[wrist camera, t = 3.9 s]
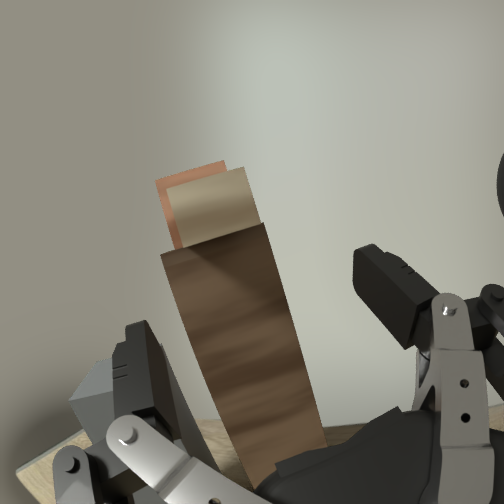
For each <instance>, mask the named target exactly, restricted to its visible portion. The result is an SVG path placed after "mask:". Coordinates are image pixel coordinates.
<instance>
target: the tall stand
mask: <svg viewBox="0 0 504 504" xmlns="http://www.w3.org/2000/svg"><path fill="white" fill-rule="evenodd" d="M160 256H161V259H162V262H163V265H164V269H165V272H166V275H167V278H168V281H169V284H170V287H171V290H172V293H173V296H174V298H175V301H176V304H177V307H178V310H179V313H180V316H181V319H182V321H183V324H184V327H185V330H186V332H187V335H188V338H189V341H190V343H191V346H192V348H193V351H194V354H195V356H196V359H197V361H198V364H199V366H200V369H201V371H202V374H203V377H204V379H205V381H206V384H207V386H208V389H209V391H210V393H211V396H212V398H213V401H214V403H215V406H216V408H217V410H218V413H219V415H220V417H221V420H222V422H223V424H224V426H225V429H226V431H227V433H228V435H229V437H230V440H231V442H232V444H233V446H234V448H235V451H236V453H237V455H238V457H239V459H240V461H241V463H242V465H243V467H244V469H245V471H246V474H247V476H248V478H249V480H250V482H251V484H252V486H253V488H254V490H255V489H256V487H257V486H258V485H259V484H260V483H261V482H262V481H263V480H264V479H265V478H266V477H267V476H269V475H270V474H271V473H273V472H274V471H276V470H277V469H276V467H275V464H274V463H277V462H279V461H282V460H285V459H287V458H290V457H293V456H295V455H298V454H300V453H303V452H305V451H308V450H314V449H319V448H325V447H328V446H327V442H326V438H325V435H324V431H323V427H322V423H321V420H320V417H319V413H318V409H317V405H316V401H315V398H314V394H313V391H312V387H311V383H310V380H309V376H308V373H307V369H306V366H305V362H304V358H303V355H302V351H301V348H300V345H299V341H298V337H297V334H296V330H295V327H294V323H293V320H292V316H291V313H290V310H289V306H288V303H287V299H286V296H285V292H284V289H283V286H282V282H281V279H280V275H279V272H278V269H277V265H276V262H275V259H274V255H273V252H272V249H271V245H270V242H269V239H268V235H267V232H266V229H265V225H264V223H261V224H259V225H255V226H252V227H249V228H245V229H242V230H239V231H236V232H232V233H229V234H226V235H223V236H220V237H216V238H213V239H210V240H207V241H204V242H200V243H197V244H194V245H191V246H188V247H185V248H183V247H182V248H179V249H176V250H172V251H169V252H166V253H163V254H161V255H160Z"/></svg>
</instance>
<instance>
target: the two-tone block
mask: <svg viewBox="0 0 504 504" xmlns="http://www.w3.org/2000/svg"><path fill="white" fill-rule="evenodd" d="M155 182H156V186H157V190H158V193H159V197H160V201H161V204H162V208H163V211H164V214H165V218H166V221H167V224H168V228H169V231H170V235H171V238H172V241H173V244H174V248H175V250H176V249H179V248H182V247H183V248H185V247H188V246H191V245H194V244H197V243H200V242H204V241H207V240H210V239H213V238H216V237H220V236H223V235H226V234H229V233H232V232H236V231H239V230H242V229H245V228H249V227H252V226H255V225H259V224H261V222H260V218H259V215H258V211H257V208H256V205H255V201H254V198H253V195H252V192H251V188H250V185H249V182H248V179H247V176H246V173H245V170H244V167H240V168H237V169H233V170H229V171H227V169H226V166H225V163H224V161H220V162H215V163H212V164H208V165H205V166H201V167H198V168H194V169H191V170H187V171H184V172H180V173H178V174H174V175H171V176H167V177H164V178H161V179H158V180H155Z"/></svg>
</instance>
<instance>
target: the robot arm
mask: <svg viewBox="0 0 504 504" xmlns="http://www.w3.org/2000/svg"><path fill="white" fill-rule="evenodd" d="M497 196H498V201H499V205H500V208H501V211H502V214H503V216H504V154H503V156H502V158H501V161H500V164H499V168H498V174H497ZM353 286H354V289H355V291H356V293H357V295H358V296H359V297H360V298H361V299H362V300H363V302H364V303H365V304H366V305H367V306H368V307H369V308H370V310H371V311H372V312H373V313H374V314H375V315H376V317H377V318H378V319H379V320H380V321H381V322H382V324H383V325H384V326H385V327H386V328H387V329H388V331H389V332H390V333H391V334H392V335H393V336H394V338H395V339H396V340H397V341H398V342H399V344H400V345H401V346H402V347H403V348H404V350H406V349H408V348H410V347H411V346H413V345H415V346H416V347H417V348H418V349H417V353H416V388H415V398H414V402H413V405H412V410H411V411H406V412H401V410H400V409H399V407H398V406H397V407H395V408H393V409H392V410H390V411H388V412H386V413H384V414H383V415H381V416H379V417H377V418H375V419H374V420H371V421H370V422H369V423H368V424H367V425H365V426H364V427H363V428H362V429H361V430H360V431H358V432H357V433H356V434H355V435H354V436H352V437H351V438H350V439H349V440H348V441H346V442H345V443H343V444H339V445H335V446H330V447H325V448H319V449H314V450H308V451H305V452H303V453H300V454H298V455H295V456H293V457H290V458H287V459H285V460H282V461H279V462H277V463H274V464H275V467H276V469H277V470H276V471H274V472H273V473H271V474H270V475H269V476H267V477H266V478H265V479H264V480H263V481H262V482H261V483H260V484H259V485H258V486H257V487H256V489H255V490H254V491H253V493H252V492H250V491H248V490H246V489H245V488H243V487H241V486H240V485H238V484H236V483H235V482H233V481H231V480H230V479H228V478H226V477H225V476H223V475H221V474H220V473H218V472H217V471H215V470H214V469H212V468H211V467H209V466H208V465H206V464H205V463H203V462H202V461H200V460H198V459H197V458H195V457H194V456H190V455H188V454H187V453H185V452H184V451H183V450H181V449H180V448H178V447H177V446H176V445H174V442H173V441H174V440H178V439H182V437H181V432H180V428H179V424H178V419H177V414H176V410H175V405H174V400H173V395H172V390H171V385H170V380H169V374H168V369H167V363H166V359H165V356H164V353H163V350H162V348H161V346H160V344H159V343H158V341H157V339H156V337H155V335H154V333H153V332H152V330H151V328H150V326H149V324H148V322H147V321H146V320H143V321H140V322H137V323H133V324H130V325H127V326H126V329H125V334H126V341H124V342H121V343H117V345H116V348H115V350H114V352H113V355H112V369H113V371H112V378H113V401H114V421H113V422H112V424H111V425H110V426H109V428H108V430H107V434H106V437H105V438H104V439H102V440H101V441H99V442H97V443H95V444H94V445H92V446H90V447H88V448H86V449H84V450H82V449H81V448H80V447H78V446H74V445H70V446H65V447H63V448H62V449H60V450H59V451H58V452H57V454H56V455H55V457H54V460H53V479H54V490H55V499H56V504H135V501H134V497H133V493H135V492H136V491H138V490H140V489H142V488H144V487H146V486H147V485H149V486H150V487H152V488H153V489H154V490H155V491H156V492H157V494H158V495H159V496H160V497H161V498H162V499H163V500H164V501H166V502H167V503H168V504H504V432H503V431H499V430H495V429H491V428H489V413H488V398H487V387H486V378H487V380H488V381H489V382H490V384H491V385H492V386H493V387H494V389H495V390H496V391H497V393H498V394H499V395H500V397H501V398H502V400H503V401H504V346H503V345H502V343H501V342H500V341H499V340H498V339H497V338H496V336H497V334H498V332H500V333H501V335H502V336H503V337H504V288H503V287H501V286H500V285H496V284H489V285H486V286H484V287H483V288H482V291H481V293H480V296H479V297H476V298H471V299H467V300H463V299H461V298H460V297H459V296H457V295H455V294H451V293H442V294H440V293H439V292H438V291H437V290H436V289H435V288H434V287H433V286H431V285H430V284H429V283H428V282H427V281H426V280H425V279H424V278H423V277H422V276H420V275H419V274H418V273H417V272H415V270H413V269H412V268H411V267H410V266H408V264H407V263H406V262H404V261H403V260H402V259H401V258H400V257H398V256H396V255H394V254H391V253H389V252H385V253H384V252H383V251H382V250H381V249H379V248H378V247H377V246H376V245H375V244H369V245H367V246H364V247H361V248H358V249H356V250H355V251H354V255H353Z"/></svg>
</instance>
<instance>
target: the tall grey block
mask: <svg viewBox="0 0 504 504" xmlns="http://www.w3.org/2000/svg"><path fill="white" fill-rule="evenodd" d="M160 346H161V348H162V350H163V353H164V356H165V359H166V363H167V369H168V374H169V380H170V385H171V390H172V395H173V400H174V405H175V410H176V414H177V419H178V424H179V428H180V432H181V437H182V439H178V440H174V441H173V442H174V445H176V446H177V447H178V448H180V449H181V450H183V451H184V452H185V453H187V454H188V455H190V456H194V457H195V458H197V459H198V460H200V461H202V462H203V463H205V464H206V465H208V466H209V467H211V468H212V469H214V470H215V471H217V472H218V473H220V474H221V475H222V473H221V472H220V470H219V468H218V466H217V464H216V462H215V460H214V458H213V456H212V454H211V452H210V451H209V449H208V447H207V445H206V443H205V441H204V439H203V437H202V435H201V432H200V430H199V428H198V426H197V424H196V422H195V420H194V418H193V416H192V414H191V411H190V409H189V407H188V405H187V403H186V400H185V398H184V396H183V394H182V391H181V389H180V387H179V385H178V382H177V380H176V378H175V375H174V373H173V370H172V368H171V366H170V363H169V361H168V358H167V356H166V353H165V351H164V348H163V346H162V344H160ZM112 371H113V369H112V358H110V359H105V360H102V361H98V362H97V363H96V364H95V365H94V366H93V368H92V369H91V370H90V372H89V373H88V375H87V376H86V377H85V379H84V380H83V381H82V383H81V384H80V385H79V387H78V388H77V389H76V391H75V392H74V394H73V395H72V397H71V398H70V399H69V403H70V405H71V406H72V408H73V410H74V412H75V414H76V416H77V418H78V420H79V421H80V423H81V425H82V427H83V429H84V430H85V432H86V434H87V435H88V437H89V439H90V440H91V442H92V444H93V445H94V444H95V443H97V442H99V441H101V440H102V439H104V438H105V437H106V434H107V430H108V428H109V426H110V425H111V424H112V422H113V421H114V401H113V378H112ZM133 497H134V501H135V504H168V503H167V502H166V501H164V500H163V499H162V498H161V497H160V496H159V495H158V494H157V492H156V491H155V490H154V489H153V488H152V487H150V486H149V485H147V486H146V487H144V488H142V489H140V490H138V491H136V492H135V493H133Z"/></svg>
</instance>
